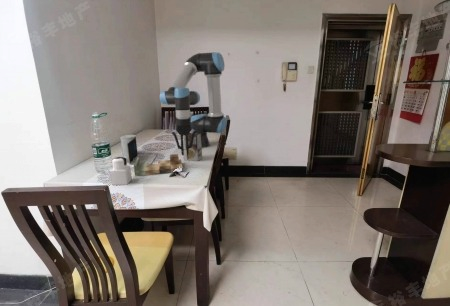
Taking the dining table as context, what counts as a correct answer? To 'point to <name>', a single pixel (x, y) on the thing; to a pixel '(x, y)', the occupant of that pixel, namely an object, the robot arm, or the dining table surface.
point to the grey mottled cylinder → (124, 141)
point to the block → (174, 159)
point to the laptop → (133, 154)
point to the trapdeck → (154, 167)
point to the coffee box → (194, 147)
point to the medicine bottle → (120, 171)
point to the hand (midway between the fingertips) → (185, 160)
